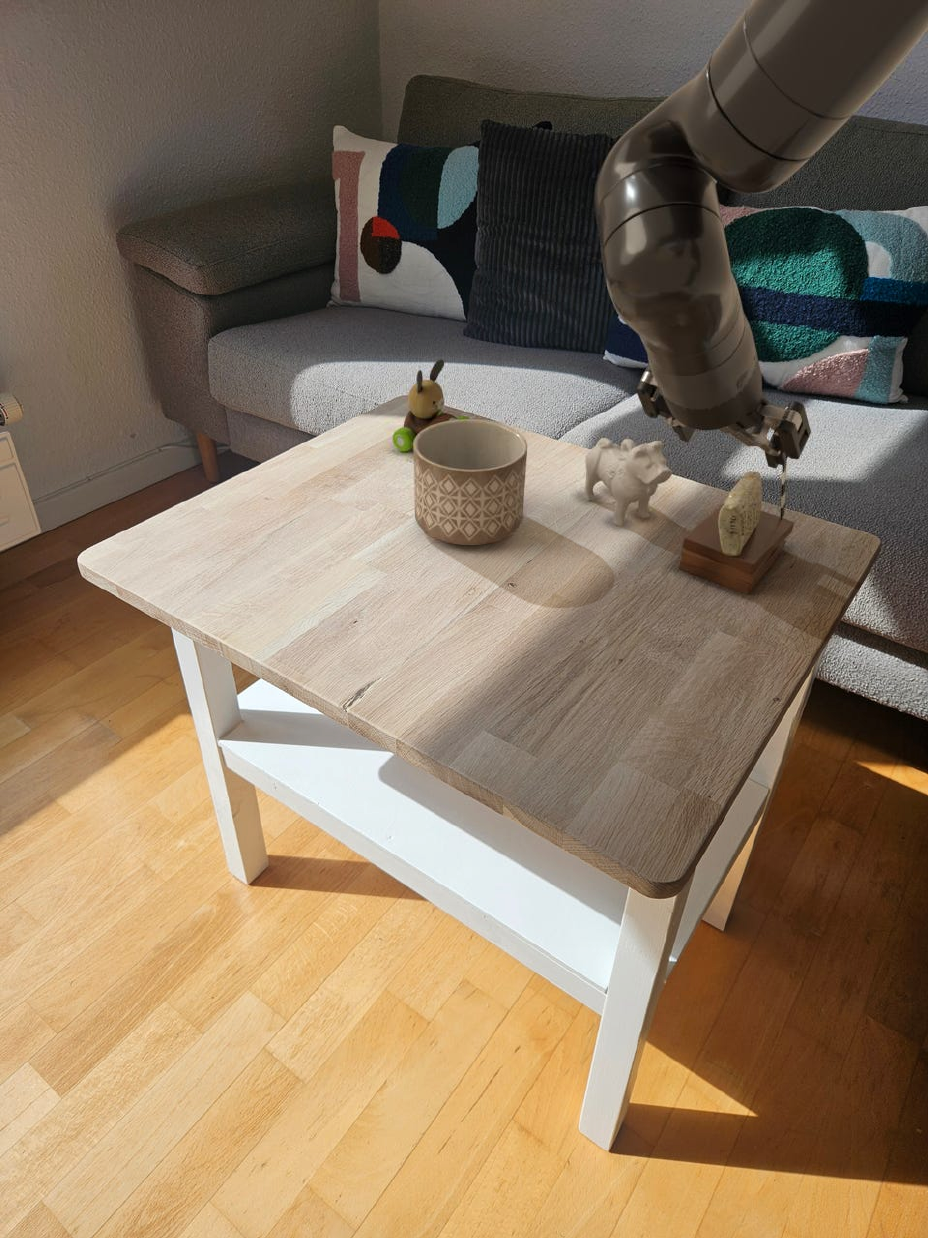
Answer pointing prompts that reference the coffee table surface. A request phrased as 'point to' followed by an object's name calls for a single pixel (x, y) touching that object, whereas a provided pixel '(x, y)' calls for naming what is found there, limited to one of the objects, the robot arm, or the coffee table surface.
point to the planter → (469, 481)
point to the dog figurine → (626, 473)
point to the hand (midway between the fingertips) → (732, 444)
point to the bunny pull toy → (423, 409)
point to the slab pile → (734, 571)
